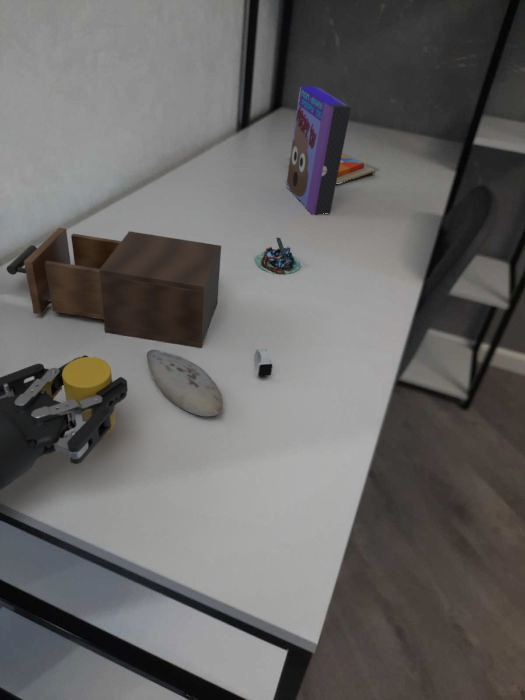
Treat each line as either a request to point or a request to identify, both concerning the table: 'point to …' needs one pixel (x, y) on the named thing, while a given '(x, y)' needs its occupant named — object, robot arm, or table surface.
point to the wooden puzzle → (351, 169)
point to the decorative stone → (185, 383)
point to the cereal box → (317, 148)
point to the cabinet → (160, 288)
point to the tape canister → (87, 380)
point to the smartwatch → (263, 362)
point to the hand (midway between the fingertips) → (106, 373)
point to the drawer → (66, 273)
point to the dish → (278, 260)
